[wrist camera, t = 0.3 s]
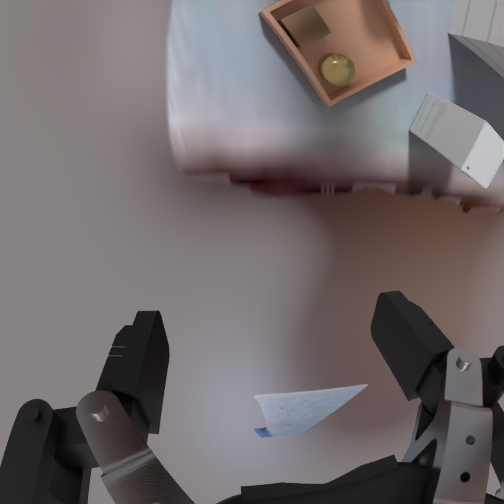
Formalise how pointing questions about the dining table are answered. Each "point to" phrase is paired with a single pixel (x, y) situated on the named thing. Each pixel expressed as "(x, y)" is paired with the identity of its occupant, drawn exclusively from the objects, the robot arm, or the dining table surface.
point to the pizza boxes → (481, 29)
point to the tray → (347, 42)
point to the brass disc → (336, 69)
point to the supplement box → (460, 138)
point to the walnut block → (304, 26)
